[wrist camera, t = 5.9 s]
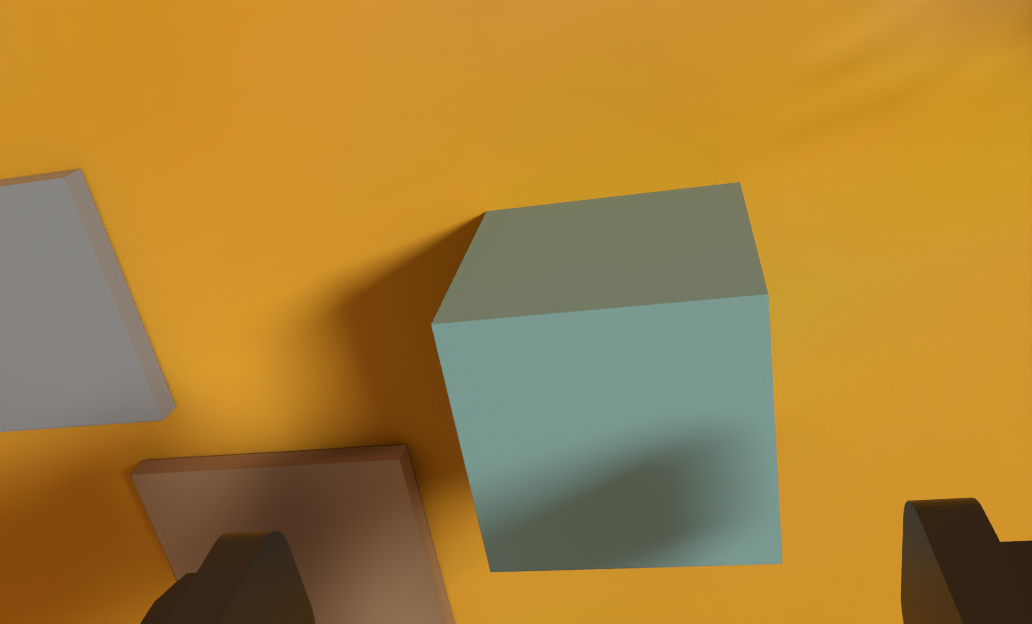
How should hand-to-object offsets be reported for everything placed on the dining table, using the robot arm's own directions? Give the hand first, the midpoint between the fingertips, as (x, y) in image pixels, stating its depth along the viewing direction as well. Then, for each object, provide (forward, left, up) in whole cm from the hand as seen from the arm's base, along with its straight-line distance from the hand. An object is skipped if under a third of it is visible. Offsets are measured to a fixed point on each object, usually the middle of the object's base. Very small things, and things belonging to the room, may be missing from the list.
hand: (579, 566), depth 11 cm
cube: (0, 0, -8) cm, 8 cm away
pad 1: (+14, -1, -8) cm, 16 cm away
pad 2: (+9, +7, -8) cm, 14 cm away
